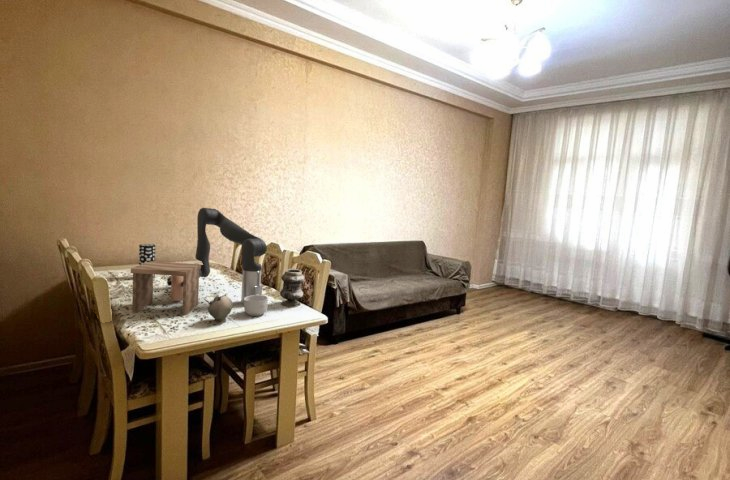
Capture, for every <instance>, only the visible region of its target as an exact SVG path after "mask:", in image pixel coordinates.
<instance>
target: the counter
mask: <svg viewBox="0 0 730 480" xmlns="http://www.w3.org/2000/svg"><path fill="white" fill-rule="evenodd" d="M201 264H202V263H201ZM201 264H200V263H189V262H187V263H185V262H169V261H157V260H155V261H150V262H147V263H144V264H141V265H139V264H138V265H137V266H133V267H131V268H130V273H131V274H132V298H131V299H132V302H131V303H132V306H131V308H132V311H131V313H137V312H139V311H140V310H143V309H144V308H146V307H147V306H149V305H151V304H152V303H153V298H154V297H153V295H154V294H153V292H154V279H153V274H155V276H156V275H159V276H171V275H172V276H183V300H182V308H181V310H182V311H181V312H182V313H181V314H182V316H187V314H189V313H190V312H192V310H193V309H195V308H196V307H197V306H198V305H199V291H200V290H199V287H200V286H199V283H200V280H199V279H200V278H199V269H201Z"/></svg>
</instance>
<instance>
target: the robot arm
mask: <svg viewBox="0 0 730 480" xmlns="http://www.w3.org/2000/svg"><path fill="white" fill-rule="evenodd" d="M196 220H197V221H196V223H197V241H196V242H197V243H196V251H195V257H194V258H195V260H197V261H200V262H201V269H199V279H200V278H207V277H209V275H210V273H211V267H210V260H209V259H210V253H211V252H210V251H211V243H210V241H209V238H208V235H207V232H206V229H207V225H210V226H211V225H212V226H216V227H218V228H219V231H220V234H221V235H222V236H223V237H224V238H225V239H227V240H228V241H230V242H231V243H235V244H238V245H241V265H242V276H241V277H242V278H241V280H242V281H241V297H240V298H241V300H240V301H241V302H240V303H241V304H243V305H244V298H245V297H247V296H251V295H256V294H259V295H263V284H262V268H263V267H262V264H261V263H258V262H257V261H255V257H261V256H264V255H265V254H266V253H267V249H268V247H267V244H266V241H264V239H262V238H260V237H258V236H256V235H254V234H252V233H250V232H249V231H247V229H245V228H243V227H241V225H238V224H237V223H235V222H234V221H232V220H231V219H230V218H227V216H225V215H224V214H223V213H222V212H221V211H220V210H218V209H215V208H211V207H202V208H199V210H198V212H197V217H196ZM166 279H167V280H166V283H167V287H168V286H169V287H171V275H169V276H168V277H167V278H166ZM181 287H183V282H181Z"/></svg>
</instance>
